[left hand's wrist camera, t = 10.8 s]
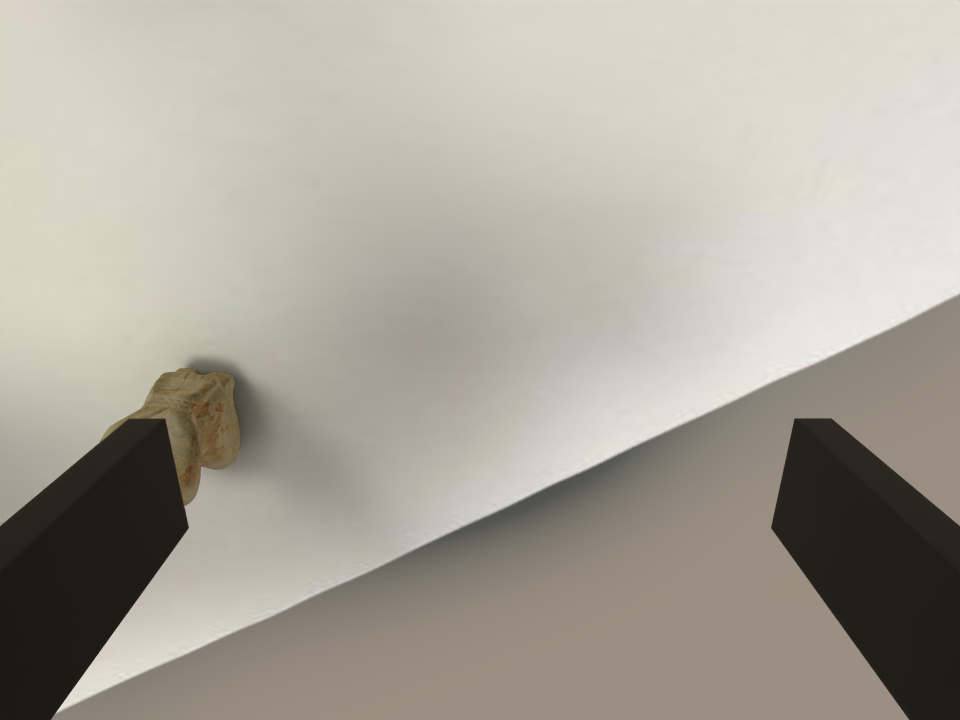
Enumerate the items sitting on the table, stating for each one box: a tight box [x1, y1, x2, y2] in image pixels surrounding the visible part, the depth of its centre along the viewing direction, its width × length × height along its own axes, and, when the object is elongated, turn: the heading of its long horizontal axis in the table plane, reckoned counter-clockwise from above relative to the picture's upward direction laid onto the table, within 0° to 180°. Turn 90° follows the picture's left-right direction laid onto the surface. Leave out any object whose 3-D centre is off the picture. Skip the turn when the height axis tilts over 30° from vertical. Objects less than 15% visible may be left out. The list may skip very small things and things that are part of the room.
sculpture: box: [100, 368, 241, 506], centre depth 33 cm, size 6×7×15 cm
